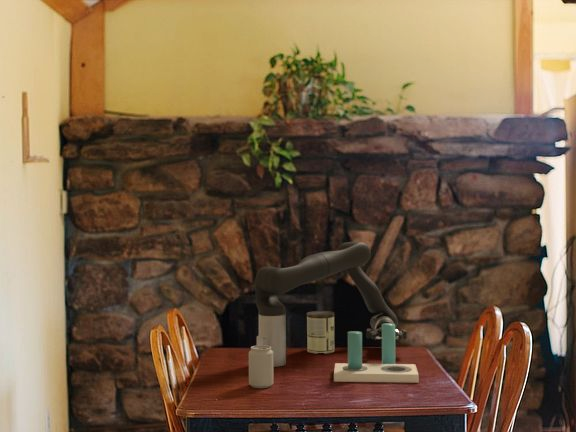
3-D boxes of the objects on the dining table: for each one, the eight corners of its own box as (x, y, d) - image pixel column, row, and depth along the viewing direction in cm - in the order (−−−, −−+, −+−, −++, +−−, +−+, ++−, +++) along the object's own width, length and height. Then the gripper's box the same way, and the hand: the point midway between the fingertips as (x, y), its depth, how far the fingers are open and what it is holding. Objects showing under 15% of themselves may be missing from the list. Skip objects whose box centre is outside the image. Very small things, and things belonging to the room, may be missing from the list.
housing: (418, 382, 237) (418, 374, 237) (333, 381, 239) (333, 372, 239) (415, 371, 251) (415, 363, 251) (335, 370, 253) (335, 362, 253)
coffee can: (307, 347, 291) (307, 310, 290) (335, 348, 290) (335, 310, 289) (305, 353, 280) (305, 315, 280) (334, 354, 279) (333, 315, 279)
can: (277, 383, 237) (276, 345, 236) (268, 389, 230) (268, 349, 229) (254, 382, 239) (253, 343, 239) (245, 387, 232) (244, 348, 232)
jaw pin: (386, 367, 257) (386, 326, 257) (379, 365, 261) (379, 324, 261) (397, 366, 259) (397, 324, 258) (390, 363, 263) (390, 322, 263)
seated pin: (352, 378, 242) (352, 334, 242) (345, 375, 247) (345, 332, 246) (364, 377, 244) (364, 333, 244) (357, 374, 248) (357, 330, 248)
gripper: (366, 318, 285) (366, 326, 269) (404, 319, 284) (407, 326, 268) (366, 339, 285) (366, 347, 269) (404, 339, 284) (407, 348, 268)
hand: (387, 337), depth 268 cm, fingers open, 8 cm apart
